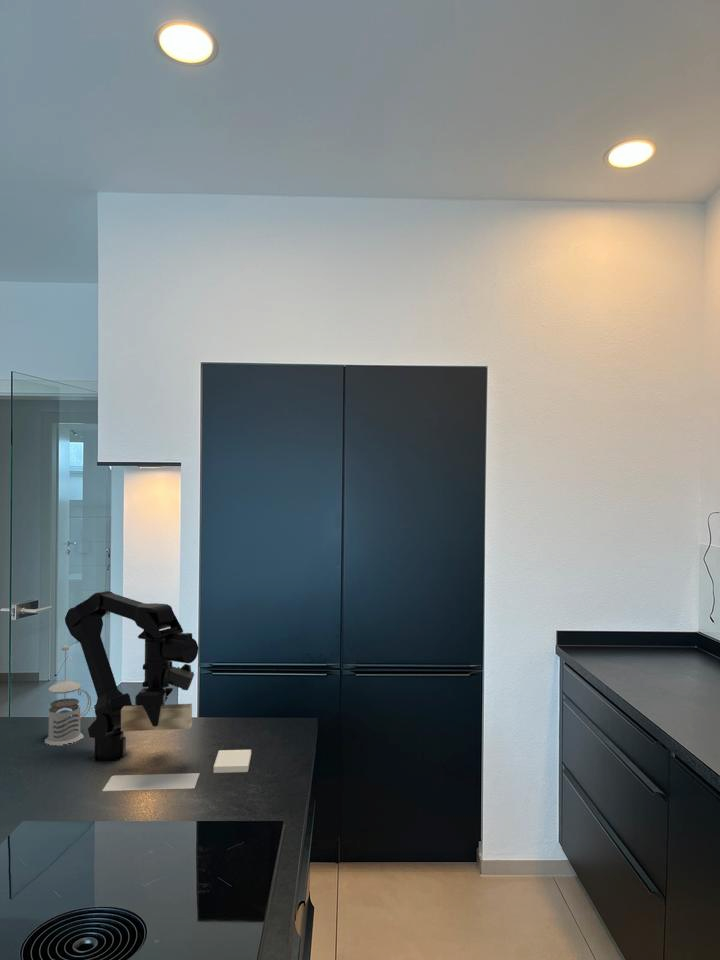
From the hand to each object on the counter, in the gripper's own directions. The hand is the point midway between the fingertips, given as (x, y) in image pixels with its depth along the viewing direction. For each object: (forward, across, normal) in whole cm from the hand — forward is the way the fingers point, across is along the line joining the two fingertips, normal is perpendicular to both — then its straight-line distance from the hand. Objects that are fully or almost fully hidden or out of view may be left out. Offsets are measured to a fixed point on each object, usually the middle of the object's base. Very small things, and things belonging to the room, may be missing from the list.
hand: (156, 723), depth 162 cm
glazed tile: (+10, +1, -14) cm, 17 cm away
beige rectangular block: (+1, 0, 0) cm, 1 cm away
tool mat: (+11, -8, -1) cm, 14 cm away
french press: (+11, +24, +28) cm, 38 cm away
